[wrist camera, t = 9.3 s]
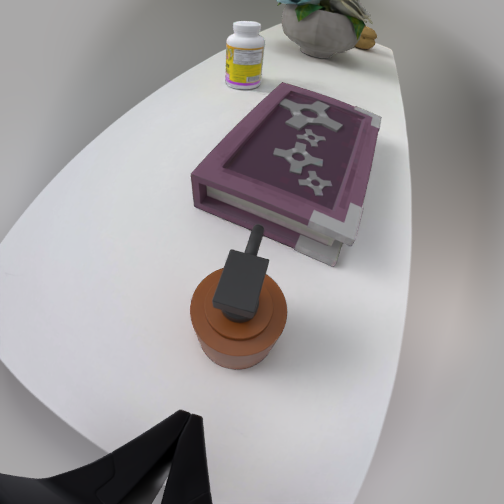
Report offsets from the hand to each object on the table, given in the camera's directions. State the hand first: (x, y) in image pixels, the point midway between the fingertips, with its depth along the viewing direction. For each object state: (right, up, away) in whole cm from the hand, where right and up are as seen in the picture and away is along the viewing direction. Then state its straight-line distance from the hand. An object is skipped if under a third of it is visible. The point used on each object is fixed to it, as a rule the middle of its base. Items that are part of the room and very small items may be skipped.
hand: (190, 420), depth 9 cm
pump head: (+2, +4, +8) cm, 10 cm away
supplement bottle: (0, +37, +39) cm, 54 cm away
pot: (+39, +78, +67) cm, 110 cm away
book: (+9, +17, +27) cm, 33 cm away
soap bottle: (+1, -1, +15) cm, 15 cm away
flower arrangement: (+20, +60, +54) cm, 83 cm away
